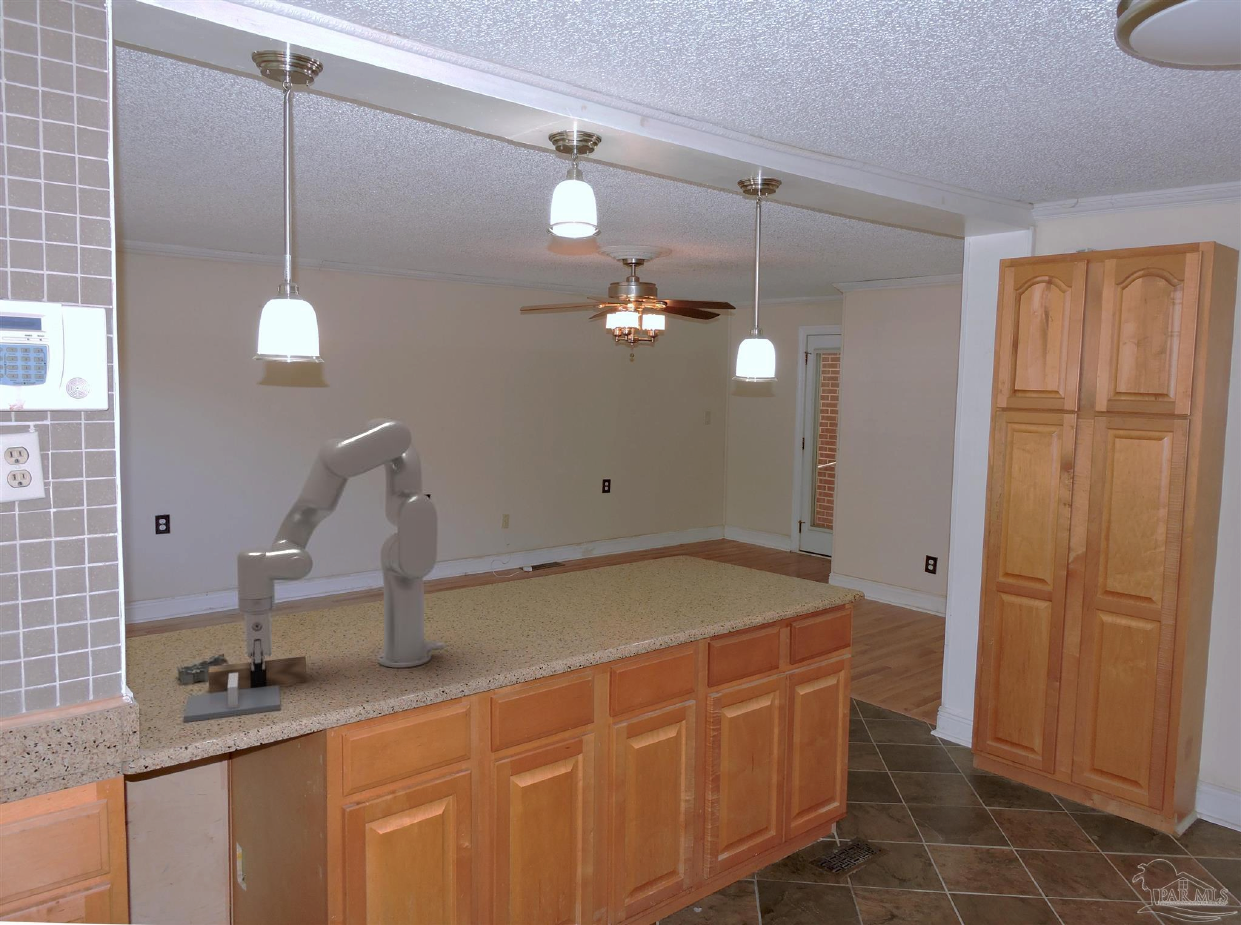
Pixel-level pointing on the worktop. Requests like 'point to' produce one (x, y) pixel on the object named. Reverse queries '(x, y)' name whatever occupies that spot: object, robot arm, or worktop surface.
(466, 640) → the worktop surface
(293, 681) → the beam
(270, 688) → the fulcrum board
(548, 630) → the worktop surface
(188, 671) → the egg carton
